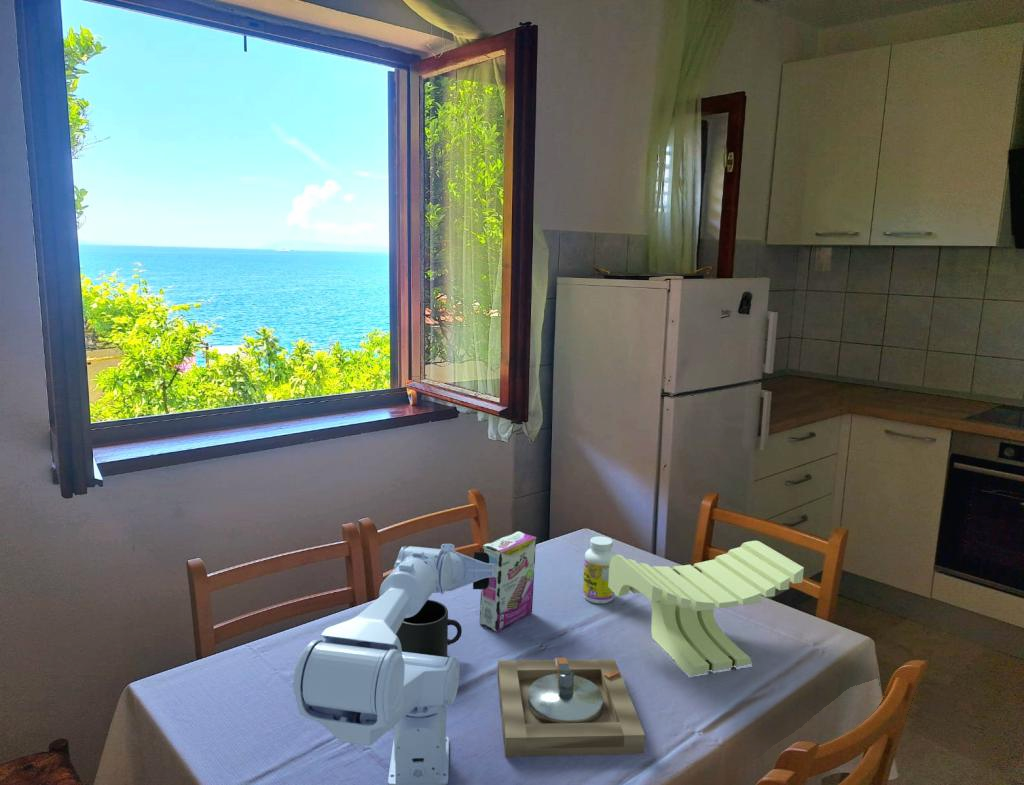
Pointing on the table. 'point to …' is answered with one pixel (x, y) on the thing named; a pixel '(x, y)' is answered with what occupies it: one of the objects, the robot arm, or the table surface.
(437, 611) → the mug
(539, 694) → the dial
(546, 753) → the board
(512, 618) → the candy bar box
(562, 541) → the table surface
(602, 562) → the supplement bottle
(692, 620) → the slatted curved stool
